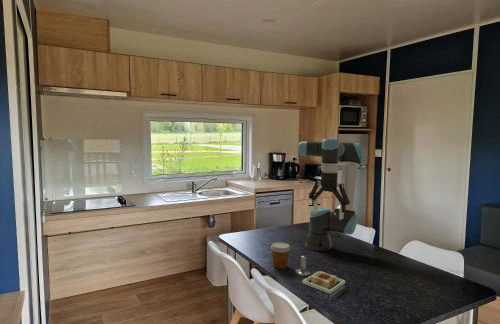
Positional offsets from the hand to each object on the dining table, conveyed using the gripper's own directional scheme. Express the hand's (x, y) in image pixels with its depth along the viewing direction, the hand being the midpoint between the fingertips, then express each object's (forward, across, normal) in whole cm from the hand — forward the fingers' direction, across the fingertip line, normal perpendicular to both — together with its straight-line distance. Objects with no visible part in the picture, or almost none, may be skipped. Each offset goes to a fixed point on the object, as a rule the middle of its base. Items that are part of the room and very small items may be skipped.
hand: (327, 216), depth 151 cm
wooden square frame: (+27, +7, -14) cm, 31 cm away
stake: (+28, -6, -11) cm, 30 cm away
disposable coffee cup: (+28, -18, -13) cm, 36 cm away
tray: (+27, +7, -14) cm, 32 cm away
